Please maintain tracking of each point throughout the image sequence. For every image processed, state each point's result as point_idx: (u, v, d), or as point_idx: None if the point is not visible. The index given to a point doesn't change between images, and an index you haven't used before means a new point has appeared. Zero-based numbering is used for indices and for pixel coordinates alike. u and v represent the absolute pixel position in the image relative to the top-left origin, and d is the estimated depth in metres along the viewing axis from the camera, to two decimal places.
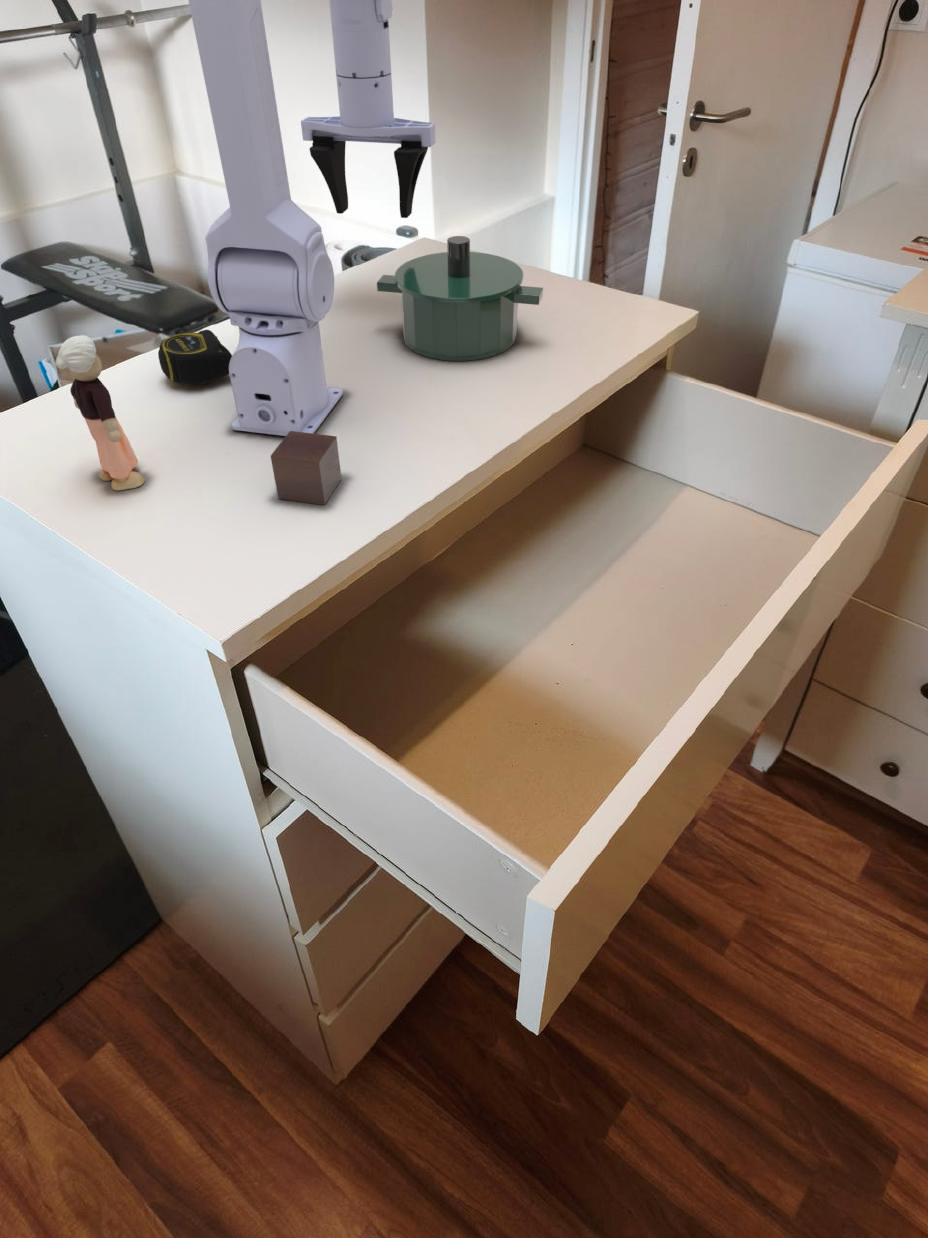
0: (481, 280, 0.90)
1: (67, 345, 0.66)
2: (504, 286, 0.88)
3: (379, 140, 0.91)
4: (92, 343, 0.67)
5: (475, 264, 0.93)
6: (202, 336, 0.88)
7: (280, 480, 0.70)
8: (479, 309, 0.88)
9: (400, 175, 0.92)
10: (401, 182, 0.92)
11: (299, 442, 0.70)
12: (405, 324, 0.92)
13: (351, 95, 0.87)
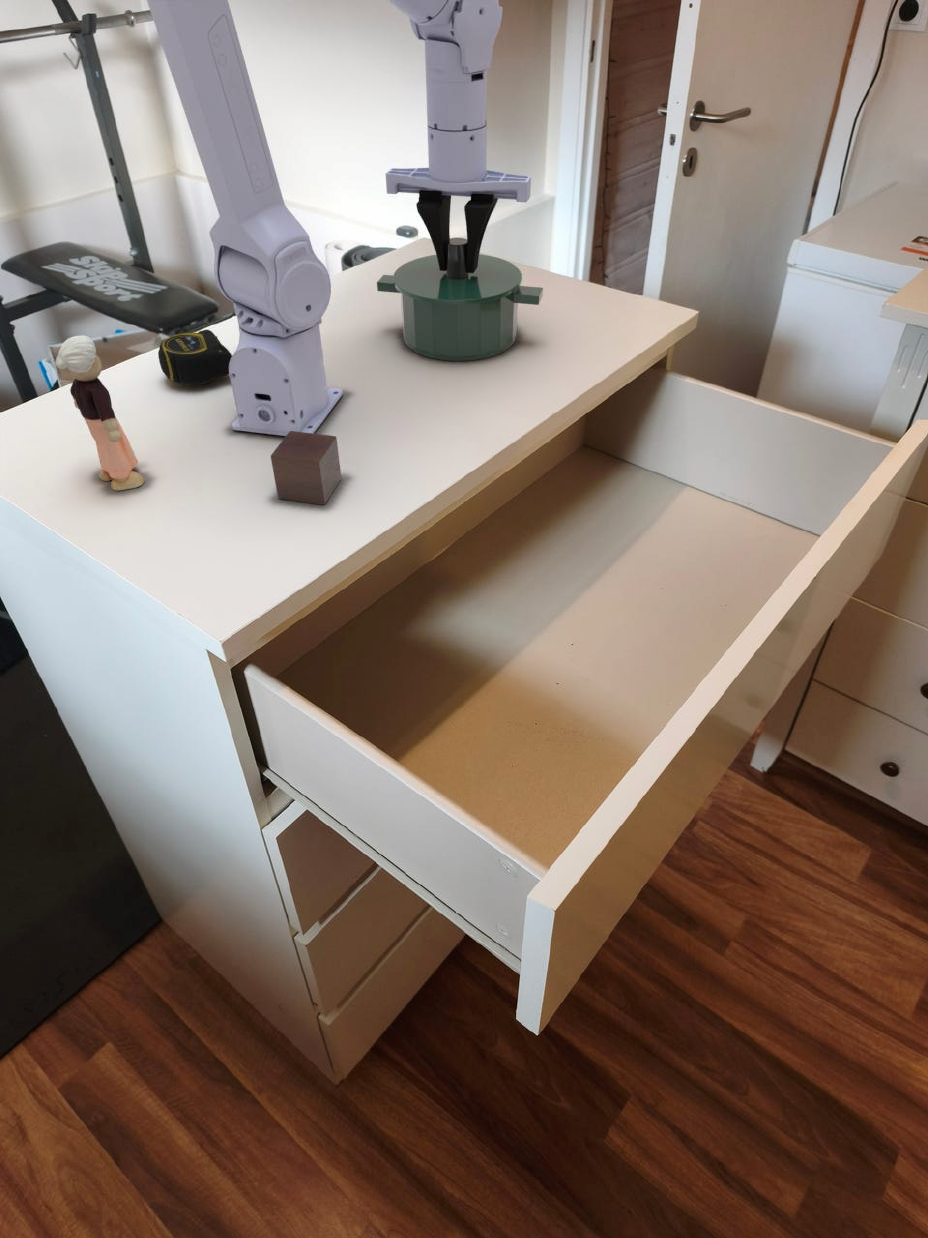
0: (480, 282, 0.89)
1: (67, 345, 0.66)
2: (503, 287, 0.88)
3: (470, 194, 0.85)
4: (92, 343, 0.67)
5: None
6: (202, 336, 0.88)
7: (280, 480, 0.70)
8: (479, 309, 0.88)
9: (468, 230, 0.86)
10: (470, 237, 0.87)
11: (299, 442, 0.70)
12: (405, 324, 0.92)
13: (444, 148, 0.81)
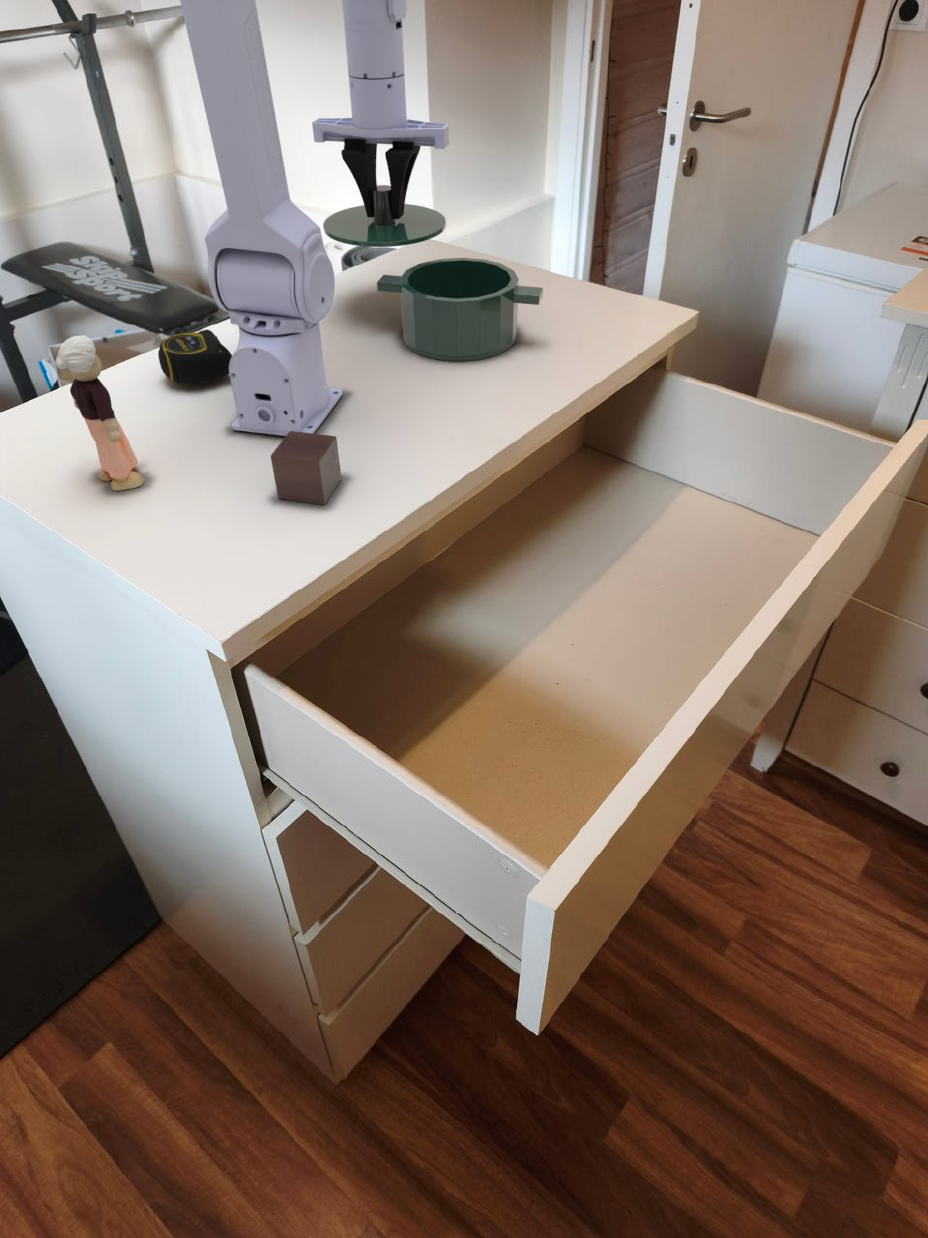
0: (405, 227, 0.94)
1: (67, 345, 0.66)
2: (426, 232, 0.93)
3: (391, 142, 0.90)
4: (92, 343, 0.67)
5: None
6: (202, 336, 0.88)
7: (280, 480, 0.70)
8: (479, 309, 0.88)
9: (391, 176, 0.91)
10: (393, 183, 0.92)
11: (299, 442, 0.70)
12: (405, 324, 0.92)
13: (363, 96, 0.86)
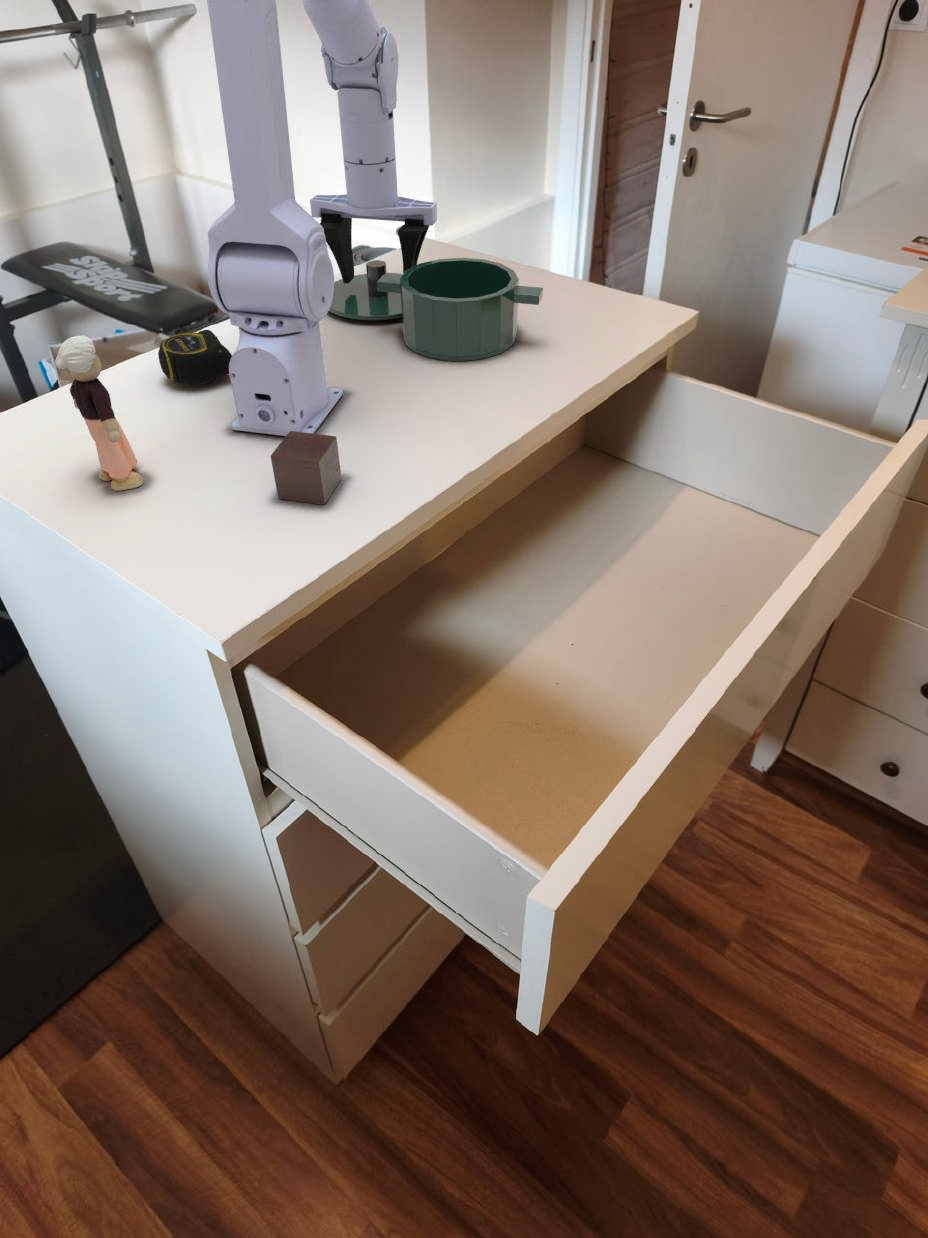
0: (397, 299, 1.01)
1: (67, 345, 0.66)
2: None
3: (384, 218, 0.97)
4: (91, 343, 0.67)
5: None
6: (202, 336, 0.88)
7: (280, 480, 0.70)
8: (479, 309, 0.88)
9: (403, 251, 0.97)
10: (404, 257, 0.98)
11: (299, 442, 0.70)
12: (405, 324, 0.92)
13: (357, 179, 0.92)
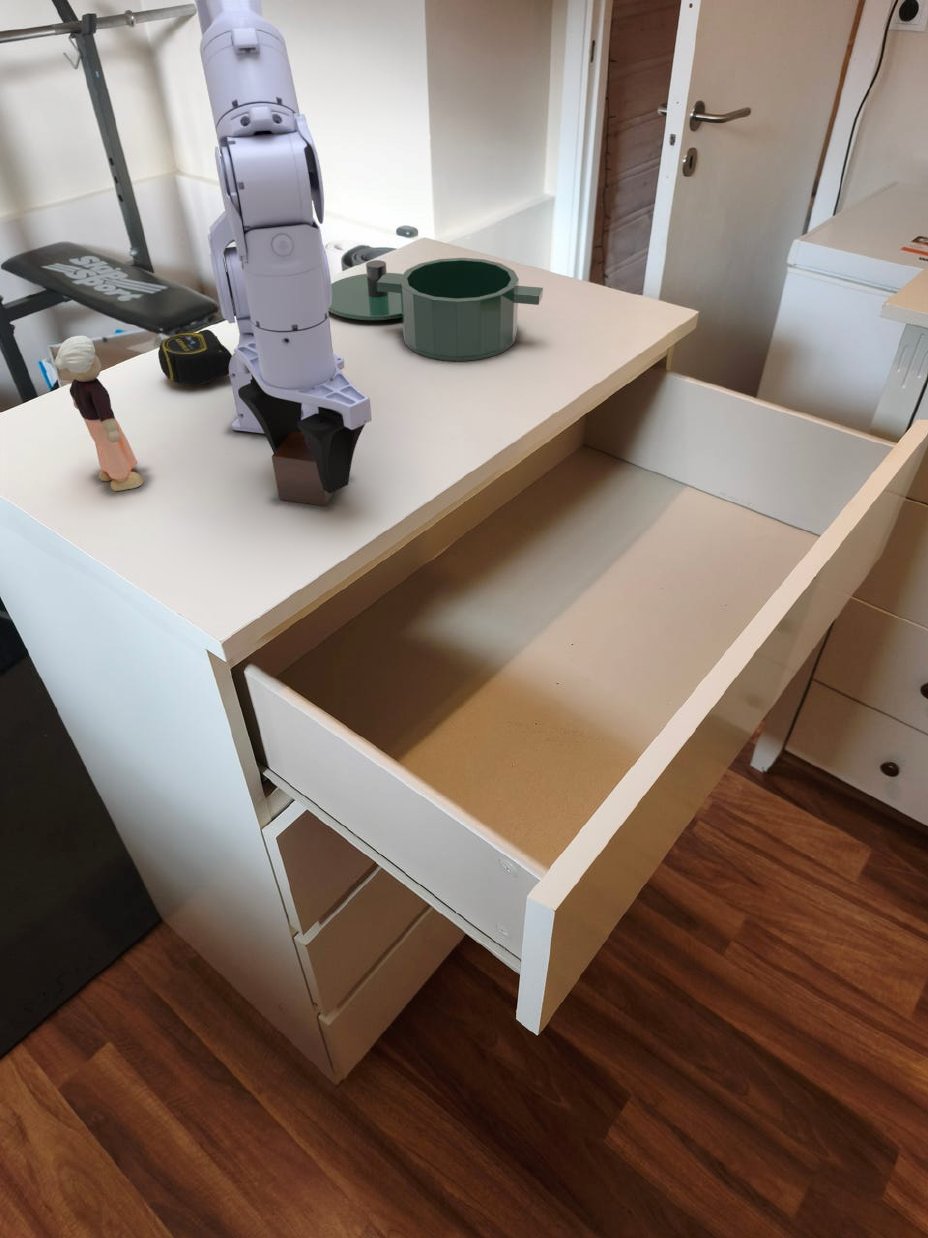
0: (397, 299, 1.01)
1: (66, 345, 0.66)
2: None
3: None
4: (91, 343, 0.66)
5: None
6: (202, 336, 0.88)
7: (281, 480, 0.70)
8: (479, 309, 0.88)
9: (312, 448, 0.66)
10: (315, 455, 0.67)
11: (300, 443, 0.70)
12: (405, 324, 0.92)
13: (258, 345, 0.63)
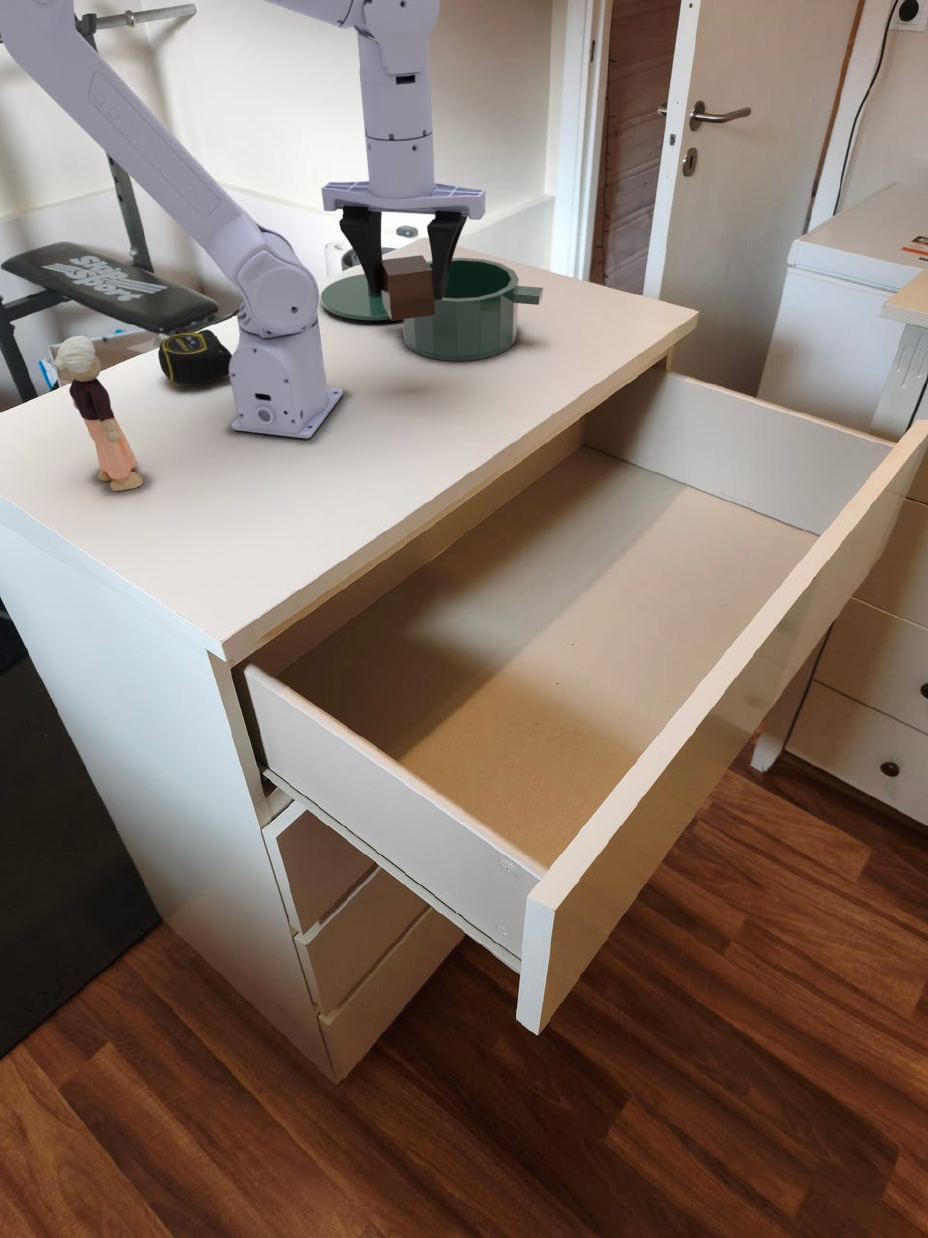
0: None
1: (66, 345, 0.66)
2: None
3: (417, 211, 0.75)
4: (91, 343, 0.66)
5: None
6: (202, 336, 0.88)
7: (395, 299, 0.78)
8: (479, 309, 0.88)
9: (434, 252, 0.76)
10: (435, 260, 0.76)
11: (398, 264, 0.79)
12: (405, 324, 0.92)
13: (383, 160, 0.71)
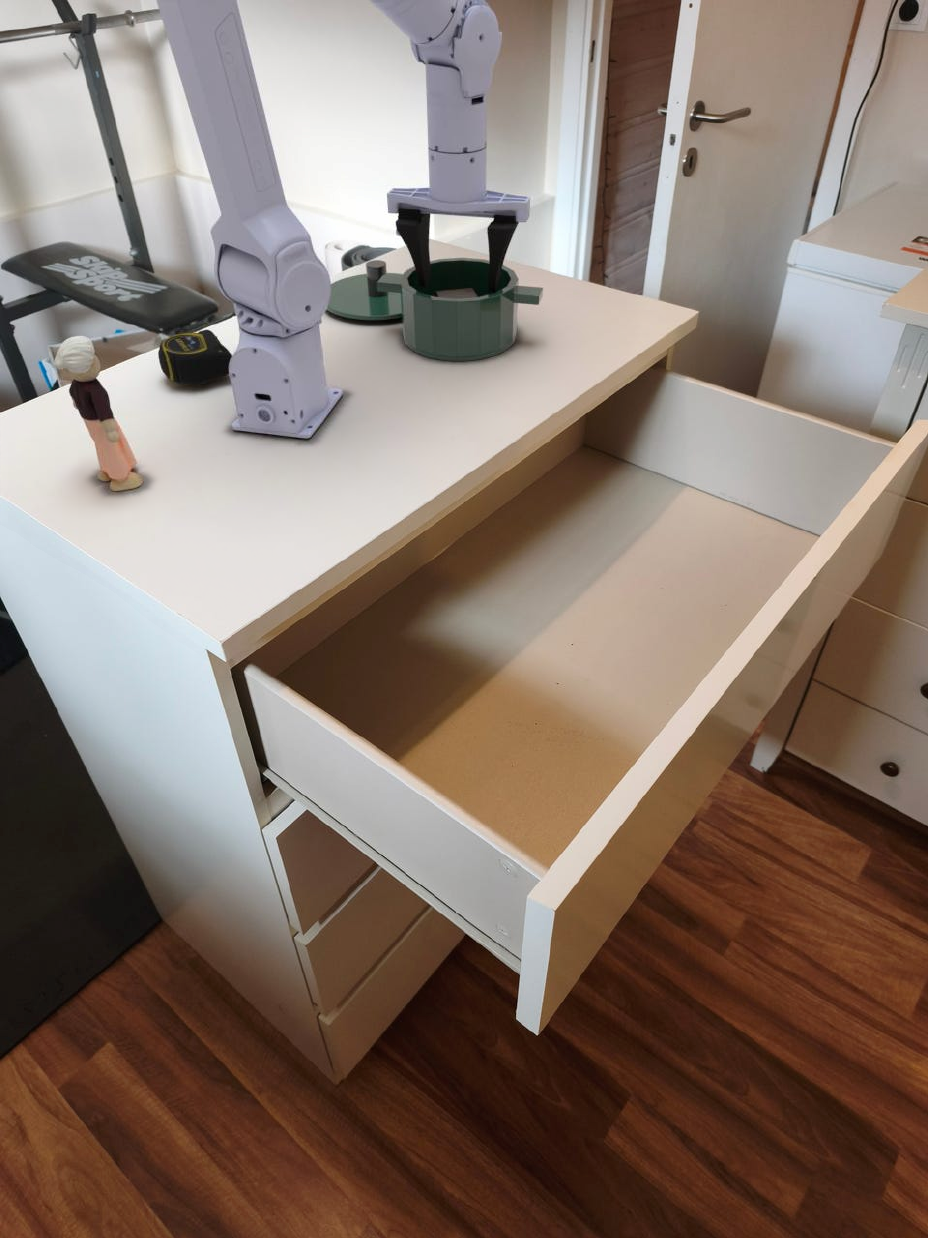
0: (397, 299, 1.01)
1: (66, 345, 0.66)
2: None
3: (470, 214, 0.87)
4: (90, 344, 0.66)
5: None
6: (202, 336, 0.88)
7: None
8: (479, 309, 0.88)
9: (491, 251, 0.87)
10: (492, 257, 0.87)
11: (452, 295, 0.92)
12: (405, 324, 0.92)
13: (445, 170, 0.82)
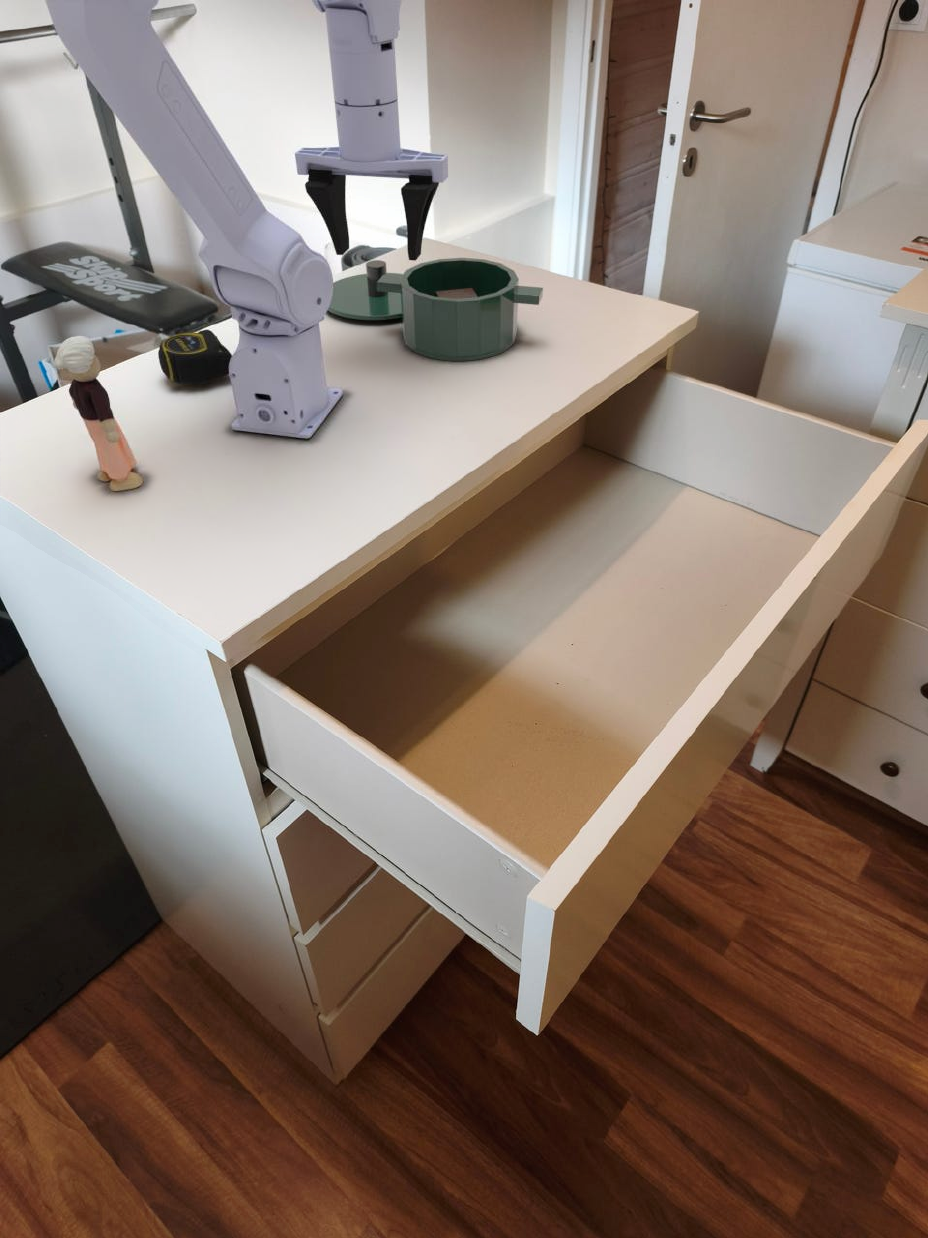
0: (397, 299, 1.01)
1: (65, 345, 0.66)
2: None
3: (384, 174, 0.80)
4: (90, 344, 0.66)
5: None
6: (202, 336, 0.88)
7: None
8: (479, 309, 0.88)
9: (407, 214, 0.81)
10: (409, 222, 0.81)
11: (452, 295, 0.92)
12: (405, 324, 0.92)
13: (352, 125, 0.76)
